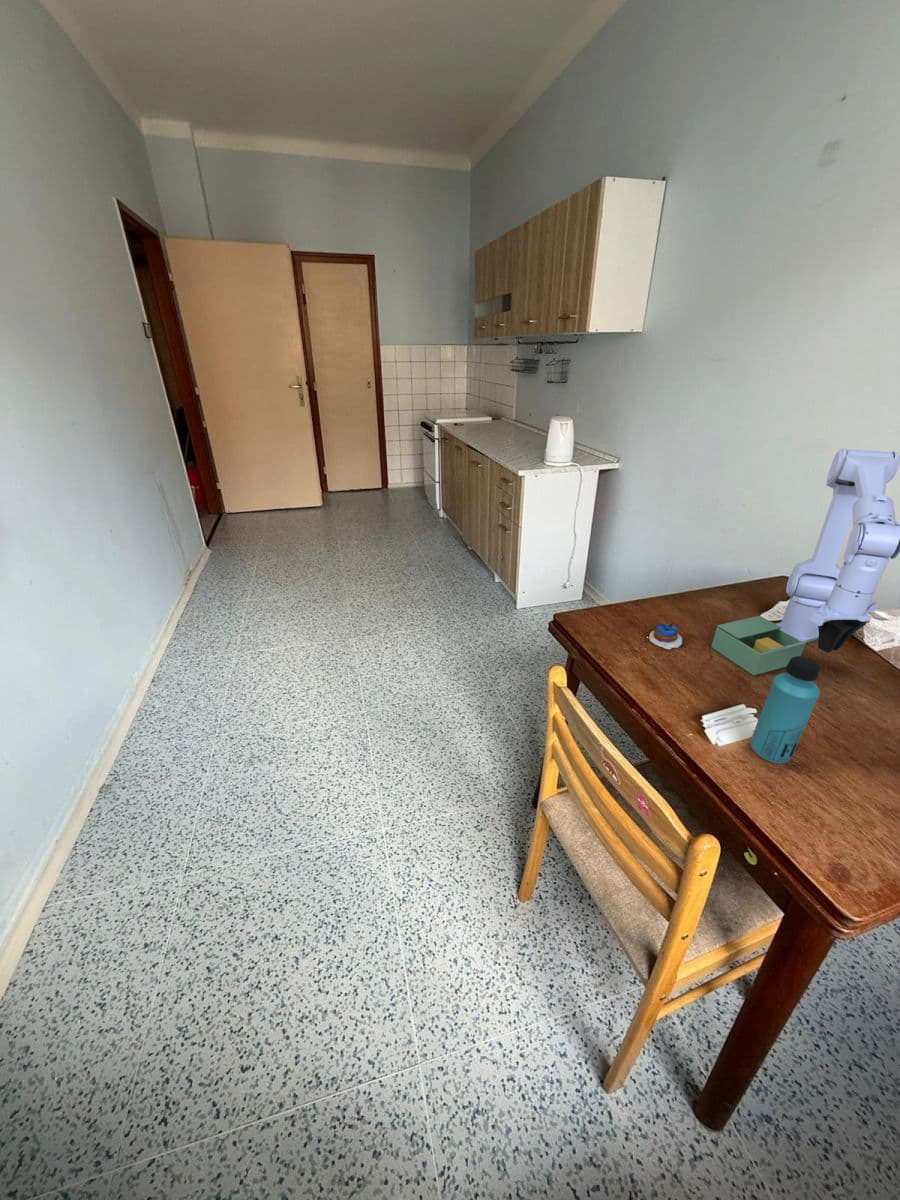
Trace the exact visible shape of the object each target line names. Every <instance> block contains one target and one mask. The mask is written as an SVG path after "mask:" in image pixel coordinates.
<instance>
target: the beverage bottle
mask: <svg viewBox="0 0 900 1200" xmlns="http://www.w3.org/2000/svg"><path fill="white" fill-rule="evenodd" d="M820 670H821V666H820V664H819V663H818V662H817V661H815V660H813V659H812V658H809V657H806V656H796V657H793V658H791V659H790V661H789V663H788V665H787V667H785V671H786V672H783V673H779V674H776V675H775V676H774V677H773V679H772V683H771V686H770V688H769V691H768V694H767V696H766V699H765V702H764V703H763V706H762V709H761V712H760V713H759V717H758V718H757V720H756V725H755V727H754V729H753V730H752V731H753V732H752V735H751V737H750V741H749V742H750V747H751V749H752V750H753V752H754V753H755V754H756V755H757V756H758V757H760V758H762V759H763V760H765V761H768V762H770V763H775V764H786V763H788V762H790V761H792V759H793V758H794V756H795V753H796V752H797V751H798V748H799V747H800V744H801V741H802V737H803V735H804V733H805V731H806V727H807V725H808V723H809V721H810V720H811V715H812V714H813V711H814V708H815V705H816V703H817V700H818V698H820V695H821V690H820V688H819V686H818V685H817V684H816V682H815V681H816V680H817V679H818V677H819V674H820Z"/></svg>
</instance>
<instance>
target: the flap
mask: <svg viewBox="0 0 900 1200" xmlns="http://www.w3.org/2000/svg"><path fill="white" fill-rule="evenodd" d="M818 638H819V637H818ZM818 638H814V639H810V640H807V641H803V642H800V643H796V644H792V645H788V646H784V647H780V648H776V649H772V650H768V651H765V652H762V653H767V652H771V651H775V650H779V649H783V648H787V647H791V646H795V645H799V644H803V643H810V642H814V641H818Z"/></svg>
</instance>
